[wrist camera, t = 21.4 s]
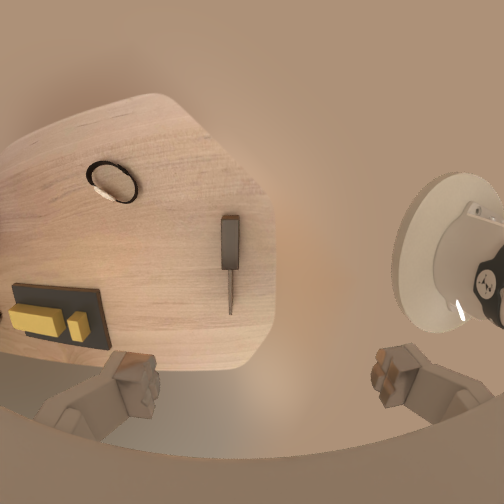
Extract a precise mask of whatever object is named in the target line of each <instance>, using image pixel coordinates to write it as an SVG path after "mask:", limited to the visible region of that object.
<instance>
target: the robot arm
mask: <svg viewBox="0 0 504 504" xmlns="http://www.w3.org/2000/svg"><path fill="white" fill-rule="evenodd" d="M433 275H434V282H435V285H436V288H437V290H438V291H439V293H440V294H441V295H442V296H443V297H444V298H445V300H446V304H447V308H448V310H449V311H451V312H457V311H459V314H460V317H461V319H462V320H463V321H465V318H464V314H463V312H465V313H466V314H468V315H469V316H471V317H473V318H475V319H476V320H478V321H482V320H485V319H489V320H490V321H491V322H492V323H493V324H495V325H496V326H498V327H500V328H502V329H504V218H503V217H501V216H499V215H498V214H496V213H494V212H492V211H491V210H489V209H487V208H485V207H483V206H482V205H480V204H478V203H476V202H473V201H469V202H468V203H467V204H466V206H465V208H464V210H463V212H462V214H461V215H460V216H459V217H458V218H457V219H456V220H454V221H453V222H452V223H451V224H450V225H449V227H448V228H447V229H446V231H445V232H444V234H443V236H442V238H441V240H440V242H439V244H438V247H437V250H436V254H435V258H434V266H433ZM376 360H377V363H376V364H375V365H374V366H373V368H372V371H371V382H372V386H373V388H374V389H375V390H376V391H378V392H380V395H379V398H380V400H381V402H382V403H383V405H384V407H385V408H390V407H395V406H399V405H403V404H404V406H406V407H407V408H409V409H410V410H412V411H413V412H415V413H416V414H418V415H419V416H421V417H422V418H424V419H425V420H427V421H428V422H430V423H431V424H433V425H431V426H428V427H426V428H423V429H420V430H417V431H414V432H411V433H407V434H404V435H401V436H397V437H394V438H390V439H387V440H383V441H379V442H375V443H371V444H366V445H362V446H357V447H353V448H347V449H342V450H336V451H331V452H324V453H317V454H309V455H301V456H291V457H278V458H259V459H217V458H197V457H185V456H175V455H167V454H159V453H152V452H146V451H140V450H134V449H129V448H124V447H118V446H114V445H110V444H106V443H102V442H100V441H101V440H103V439H104V438H105V437H106V436H107V435H109V434H110V433H111V432H112V431H114V430H115V429H116V428H117V427H118V426H119V425H121V424H122V423H123V422H124V421H126V420H127V419H128V418H129V417H137V418H145V419H152V416H153V412H154V409H155V403H154V400H156V399H157V398H158V396H159V392H160V378H159V373H158V372H157V371H156V370H155V367H156V365H157V363H156V359H155V356H154V355H151V354H142V353H133V352H125V351H117V350H116V351H113V353H112V354H111V356H110V357H109V359H108V361H107V362H106V364H105V366H104V367H103V369H102V371H101V372H100V374H99V375H98V376H93V377H91V378H89V379H87V380H85V381H83V382H81V383H79V384H77V385H75V386H73V387H71V388H69V389H67V390H65V391H63V392H61V393H59V394H57V395H55V396H53V397H50V398H48V399H46V401H45V402H44V403H43V405H42V406H41V408H40V409H39V411H38V412H37V414H36V415H35V417H34V418H33V420H31V419H29V418H26V417H24V416H22V415H19V414H17V413H15V412H13V411H11V410H9V409H6V408H4V407H2V406H0V504H504V393H502V394H500V395H498V396H496V397H495V396H494V395H493V394H492V393H491V392H490V391H489V390H488V389H487V388H486V387H485V385H484V384H483V383H482V382H480V381H478V380H475V379H473V378H470V377H468V376H465V375H463V374H460V373H457V372H455V371H452V370H450V369H447V368H445V367H442V366H440V365H437V364H432V363H431V362H430V361H429V360H428V359H427V357H426V356H425V355H424V354H423V353H422V352H421V351H420V350H419V348H418V347H417V346H416V345H415V344H413V343H409V344H404V345H401V346H396V347H389V348H383V349H379V350H378V352H377V354H376Z"/></svg>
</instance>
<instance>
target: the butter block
mask: <svg viewBox="0 0 504 504" xmlns="http://www.w3.org/2000/svg"><path fill="white" fill-rule="evenodd" d="M8 312H9V315H10V318H11V321H12V324H13V327H14V328H15V329H19V330H23V331H28V332H33V333H37V334H42V335H48V336H53V337H59V336H60V335H61V333H62V332H63V331H64V330H65V329H66V325H65V322H64V318H63V314H62V310H61V309H56V308H48V307H40V306H33V305H26V304H20V303H17V304H16V305H14V306H13V307H12V308H10V309H9V310H8Z"/></svg>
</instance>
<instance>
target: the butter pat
mask: <svg viewBox="0 0 504 504" xmlns="http://www.w3.org/2000/svg"><path fill="white" fill-rule="evenodd" d="M67 323H68V327H69V330H70V334H71V337H72V340H73V341H79V342H83V341H84V340H85V339H86V337H87V336H88V335H89V334H90V332H91V331H90V327H89V323H88V319H87V314H86V312H79V311H76V312H75V313H74V314H73V315H72V316H70V317H69V318H68V319H67Z"/></svg>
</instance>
